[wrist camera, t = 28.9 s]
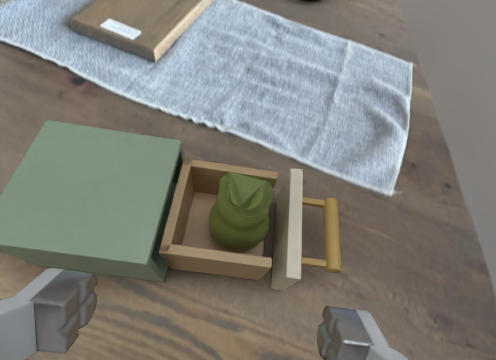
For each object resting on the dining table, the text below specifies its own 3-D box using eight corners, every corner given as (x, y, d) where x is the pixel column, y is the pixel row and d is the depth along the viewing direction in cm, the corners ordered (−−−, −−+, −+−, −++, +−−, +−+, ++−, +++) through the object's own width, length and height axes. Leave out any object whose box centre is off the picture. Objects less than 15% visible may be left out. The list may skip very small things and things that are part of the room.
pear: (203, 249, 28) (199, 211, 19) (217, 202, 30) (219, 149, 22) (257, 262, 28) (278, 230, 19) (267, 214, 30) (288, 166, 22)
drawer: (322, 203, 33) (346, 176, 27) (325, 296, 28) (354, 286, 22) (190, 184, 32) (185, 151, 26) (168, 275, 27) (156, 259, 21)
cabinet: (188, 182, 33) (181, 140, 26) (164, 282, 28) (146, 264, 20) (83, 167, 33) (46, 119, 25) (37, 265, 27) (-28, 241, 20)
